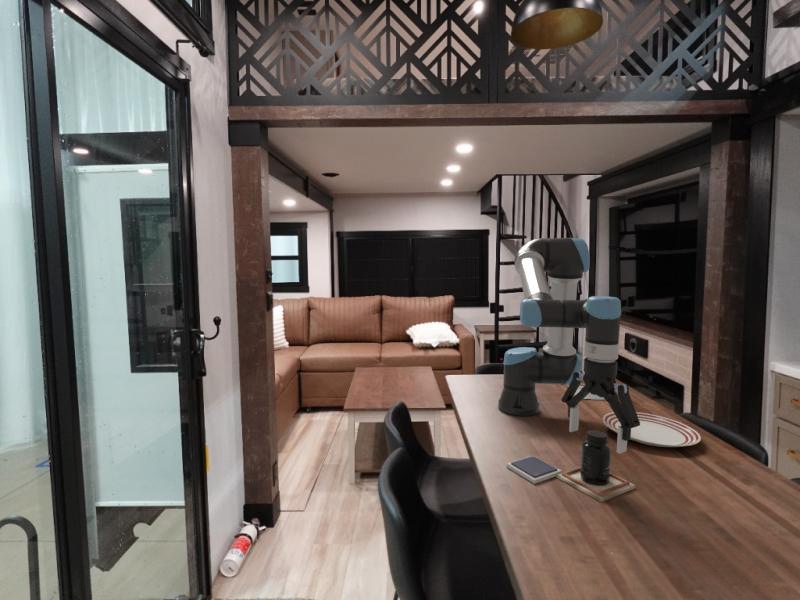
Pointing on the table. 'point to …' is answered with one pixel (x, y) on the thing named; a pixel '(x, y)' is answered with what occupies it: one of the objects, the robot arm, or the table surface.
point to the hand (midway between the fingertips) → (596, 440)
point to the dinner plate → (657, 431)
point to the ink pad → (533, 469)
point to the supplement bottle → (595, 459)
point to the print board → (596, 491)
